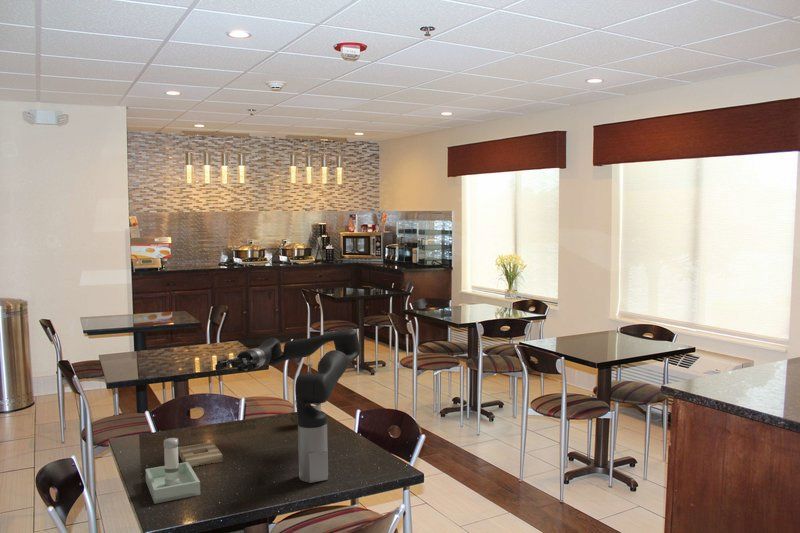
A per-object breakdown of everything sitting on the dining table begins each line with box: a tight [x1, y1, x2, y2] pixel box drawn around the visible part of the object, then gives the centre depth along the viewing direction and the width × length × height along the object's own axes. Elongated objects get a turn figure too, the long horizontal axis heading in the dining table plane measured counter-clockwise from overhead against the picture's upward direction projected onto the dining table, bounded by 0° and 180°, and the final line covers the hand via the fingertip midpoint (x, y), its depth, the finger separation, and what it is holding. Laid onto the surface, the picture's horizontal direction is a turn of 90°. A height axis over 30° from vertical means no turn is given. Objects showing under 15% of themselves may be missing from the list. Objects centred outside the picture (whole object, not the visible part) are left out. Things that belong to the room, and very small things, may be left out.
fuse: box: [163, 437, 179, 487], centre depth 201 cm, size 4×4×14 cm
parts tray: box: [145, 462, 201, 504], centre depth 201 cm, size 20×13×4 cm, turn 28°
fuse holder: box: [178, 441, 223, 468], centre depth 228 cm, size 16×12×2 cm
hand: (227, 368), depth 224 cm, fingers open, 8 cm apart
